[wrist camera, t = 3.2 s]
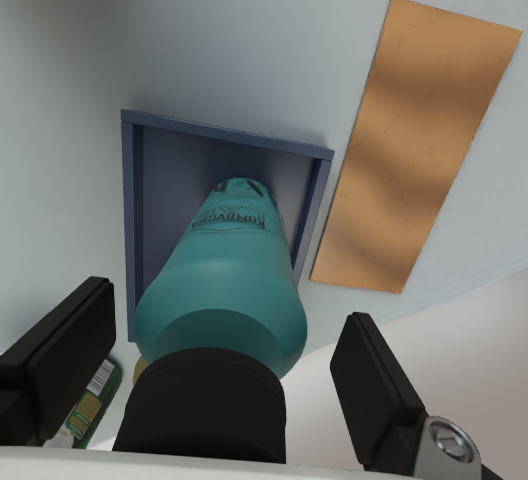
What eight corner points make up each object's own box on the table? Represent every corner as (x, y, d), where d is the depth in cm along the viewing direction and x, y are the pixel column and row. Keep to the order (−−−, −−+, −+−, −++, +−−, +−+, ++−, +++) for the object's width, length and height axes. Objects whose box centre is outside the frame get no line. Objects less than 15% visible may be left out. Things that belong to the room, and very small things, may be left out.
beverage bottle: (286, 229, 25) (382, 538, 6) (220, 250, 25) (132, 584, 7) (265, 160, 22) (324, 348, 4) (191, 185, 23) (-65, 449, 4)
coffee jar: (83, 405, 34) (-86, 687, 17) (29, 370, 31) (-237, 666, 14) (138, 374, 32) (9, 655, 15) (85, 333, 29) (-145, 624, 12)
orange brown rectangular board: (391, -1, 18) (393, -4, 18) (518, 32, 19) (523, 31, 19) (308, 279, 27) (309, 281, 27) (398, 291, 28) (400, 293, 28)
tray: (134, 110, 21) (120, 108, 18) (327, 147, 22) (335, 150, 20) (137, 325, 29) (127, 342, 27) (276, 341, 31) (277, 357, 29)
